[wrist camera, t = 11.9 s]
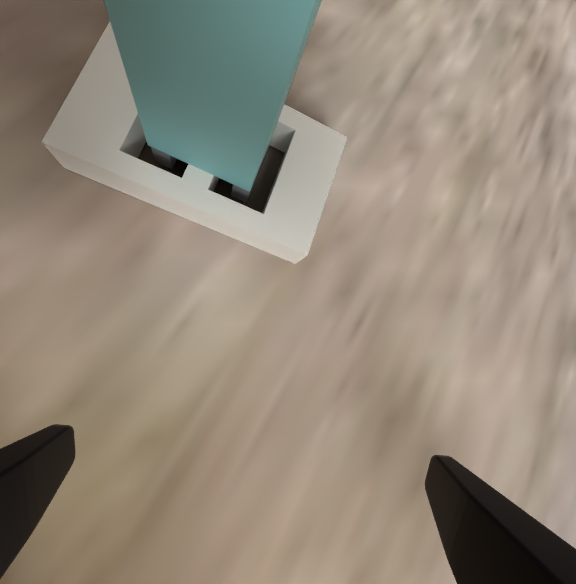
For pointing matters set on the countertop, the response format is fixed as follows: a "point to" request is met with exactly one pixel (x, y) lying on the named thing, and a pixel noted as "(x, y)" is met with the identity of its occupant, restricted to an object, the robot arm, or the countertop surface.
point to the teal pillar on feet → (211, 77)
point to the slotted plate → (195, 182)
